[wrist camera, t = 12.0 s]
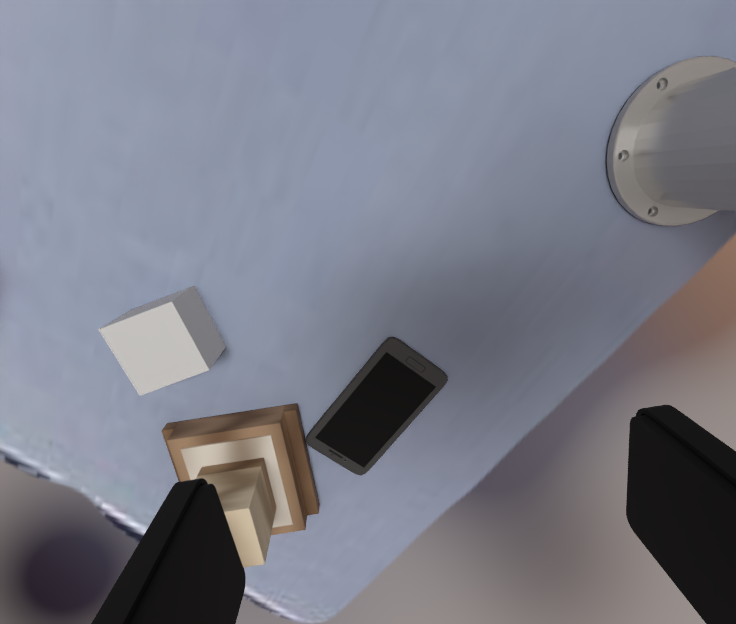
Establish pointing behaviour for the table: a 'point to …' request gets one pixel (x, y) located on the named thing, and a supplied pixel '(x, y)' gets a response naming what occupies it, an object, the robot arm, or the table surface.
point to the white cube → (165, 340)
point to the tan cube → (245, 505)
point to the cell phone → (376, 406)
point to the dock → (252, 455)
